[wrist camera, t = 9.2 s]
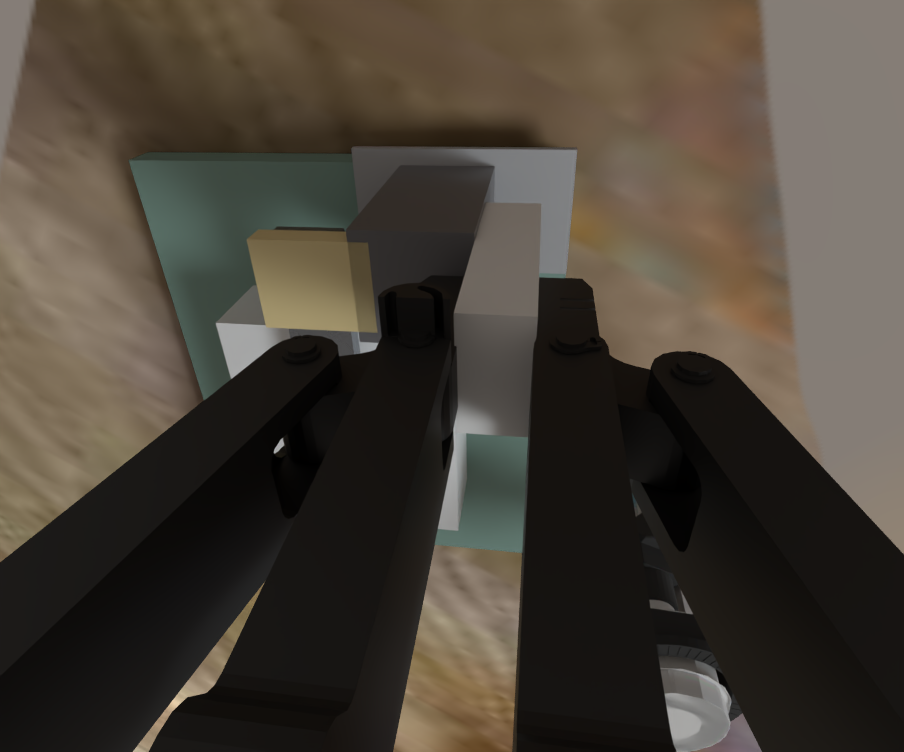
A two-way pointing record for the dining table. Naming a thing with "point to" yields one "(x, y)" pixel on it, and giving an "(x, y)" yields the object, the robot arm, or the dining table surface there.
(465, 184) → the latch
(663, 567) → the push button
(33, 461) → the dining table surface
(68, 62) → the dining table surface
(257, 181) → the board
